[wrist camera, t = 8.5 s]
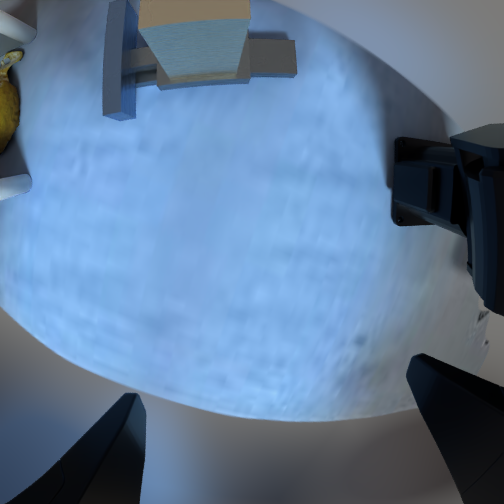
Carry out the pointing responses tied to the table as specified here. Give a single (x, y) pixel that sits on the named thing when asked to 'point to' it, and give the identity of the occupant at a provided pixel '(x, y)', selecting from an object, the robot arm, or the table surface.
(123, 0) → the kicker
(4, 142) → the fruit
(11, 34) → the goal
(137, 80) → the rail
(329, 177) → the table surface
